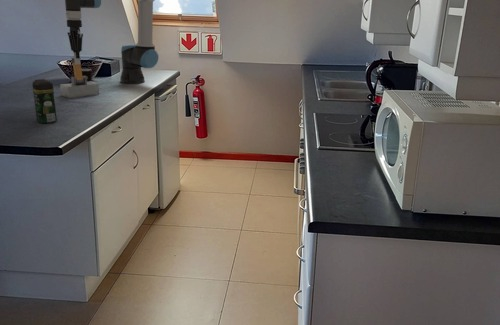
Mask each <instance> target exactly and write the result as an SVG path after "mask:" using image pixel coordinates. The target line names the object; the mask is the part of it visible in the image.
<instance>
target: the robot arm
mask: <svg viewBox="0 0 500 325" xmlns="http://www.w3.org/2000/svg"><path fill="white" fill-rule="evenodd" d="M154 2H155V0H137V4H138V5H137V6H138V7H137V10H138V11H137V13H138V14H137V19H138V20H137V43H136V44H130V45H129V44H128V45H122V46H121V50H120V53H121V64H122V65H121V66H122V70H121V75H120V79H119V80H120V83H122V84H142V83H145V76H144V74H143V69H152V68H154V67H156V65H157V64H158V62H159V53H158V52H157V50H156V48H155V47H156V46H155V45H154V43H153V31H154V30H153V28H154V26H153V25H154V24H153V21H154V20H153V19H154V16H153V15H154ZM64 4H65V16H66V27H67V28H69V32H67V36H68V41H69V45H70V50H71V51H72V52H73V58H74V62H75V65H78V64H80V63H81V62H80V60H81V57H80V56H81V55H80V53H81V52H82V51H83V50H82V49H83V37H84V33H82V32H81V28H82V26H83V23H82V22H83V21H82V9H99V8H101V5H102V0H64ZM142 68H143V69H142Z"/></svg>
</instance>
